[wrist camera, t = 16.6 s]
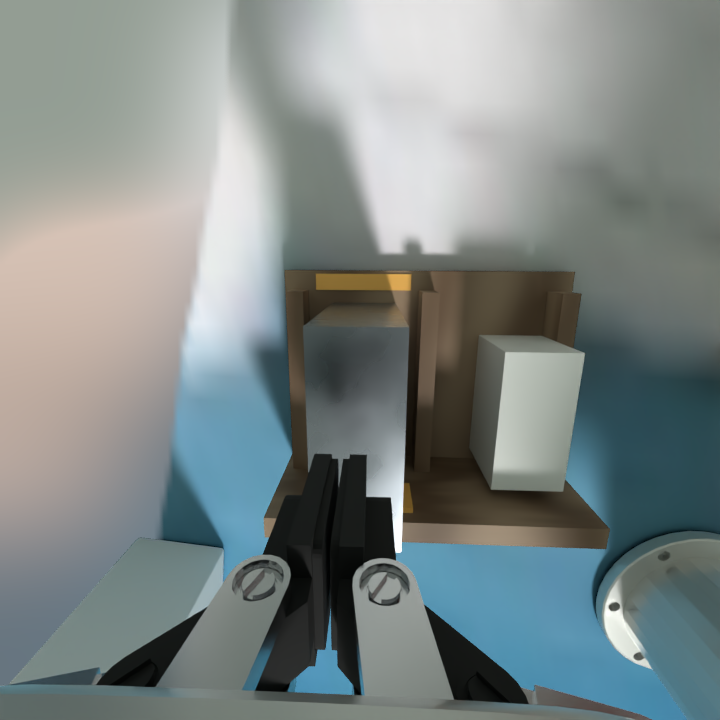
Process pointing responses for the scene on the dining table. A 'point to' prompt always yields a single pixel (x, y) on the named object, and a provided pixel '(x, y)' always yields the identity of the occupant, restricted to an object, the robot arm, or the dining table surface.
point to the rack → (468, 402)
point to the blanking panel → (360, 393)
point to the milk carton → (131, 607)
